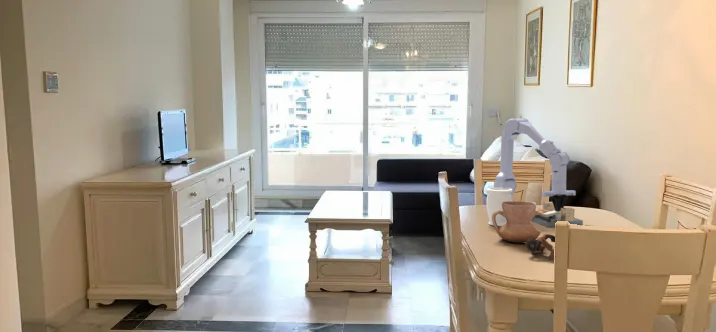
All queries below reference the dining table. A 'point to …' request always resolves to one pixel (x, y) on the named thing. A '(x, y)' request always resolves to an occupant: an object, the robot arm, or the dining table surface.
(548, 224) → the panel
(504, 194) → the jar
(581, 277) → the dining table surface
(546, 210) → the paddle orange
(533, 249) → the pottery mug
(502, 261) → the dining table surface
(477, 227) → the dining table surface
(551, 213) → the paddle white
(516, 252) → the dining table surface
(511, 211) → the ceramic jug
